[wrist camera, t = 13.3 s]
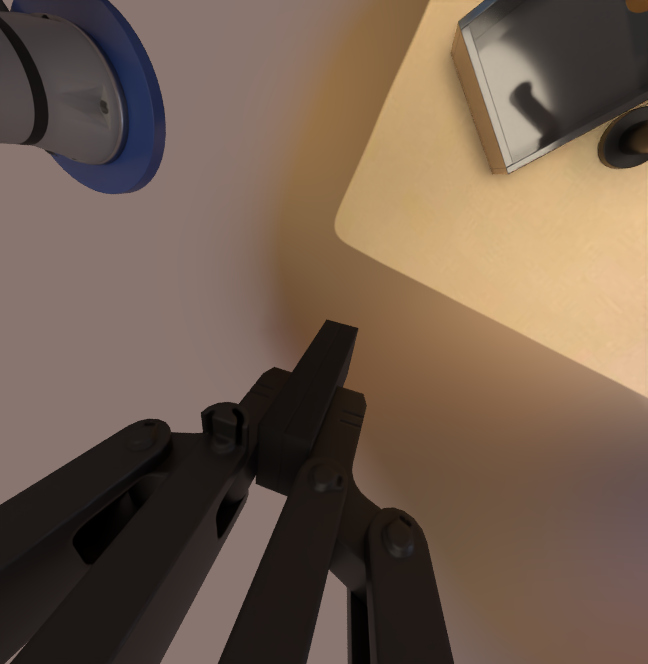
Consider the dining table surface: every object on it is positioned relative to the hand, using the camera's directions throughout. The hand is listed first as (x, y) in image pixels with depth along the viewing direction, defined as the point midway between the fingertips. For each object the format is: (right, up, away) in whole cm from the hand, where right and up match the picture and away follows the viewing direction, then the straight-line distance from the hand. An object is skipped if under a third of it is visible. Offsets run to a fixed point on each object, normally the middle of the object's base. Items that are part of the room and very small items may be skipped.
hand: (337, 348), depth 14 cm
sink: (+21, +26, +13) cm, 35 cm away
